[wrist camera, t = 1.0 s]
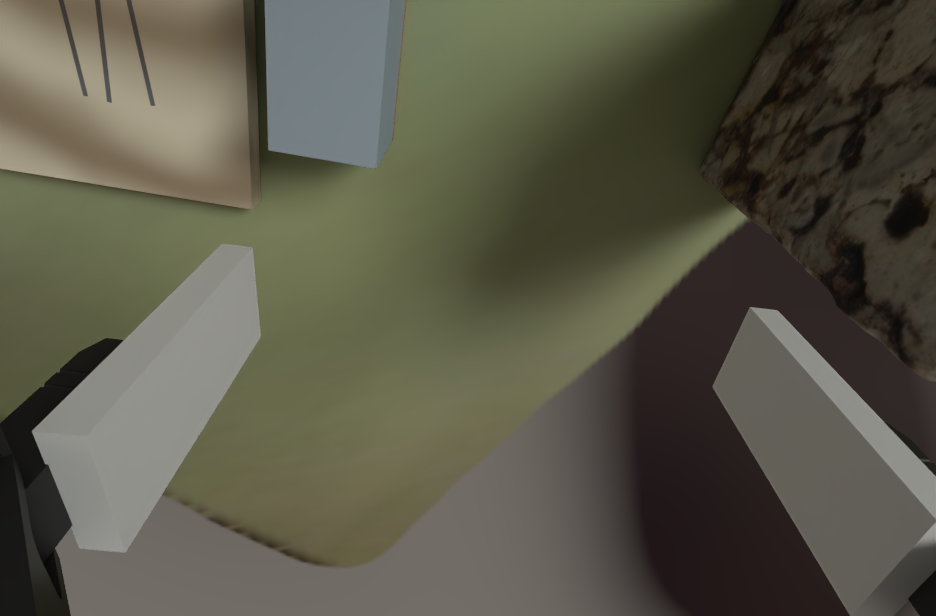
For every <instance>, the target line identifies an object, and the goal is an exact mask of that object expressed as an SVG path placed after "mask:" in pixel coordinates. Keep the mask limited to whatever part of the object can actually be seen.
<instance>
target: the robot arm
mask: <svg viewBox="0 0 936 616" xmlns="http://www.w3.org/2000/svg"><path fill="white" fill-rule="evenodd" d="M260 337H261V334H260V323H259V312H258V301H257V290H256V279H255V268H254V257H253V247H245V246H236V245H228V244H221V245H220V246H219V247H218V248H217V249H216V250H215V251H214V252H213V253H212V254H211V255H210V256H209V257H208V258H207V259H206V260H205V261H204V262H203V263H202V264H201V265H200V266H199V267H198V268H197V269H196V270H195V271H194V272H193V273H192V274H191V275H190V276H189V277H188V278H187V279H186V280H185V281H184V282H183V283H182V284H181V285H180V286H179V287H178V288H177V289H176V290H175V291H174V292H173V293H171V294H170V295H169V296H168V297H167V298H166V299H165V300H164V301H163V302H162V303H161V304H160V305H159V306H158V307H157V308H156V309H155V310H154V311H153V312H152V313H151V314H150V315H149V316H148V317H147V318H146V319H145V320H144V321H143V322H142V323H141V324H140V325H139V326H138V327H137V328H136V329H135V330H134V331H133V332H132V333H131V334H130V335H129V336H128V337H127V338H126V339H125V340H118V339H108V338H106V339H104V340H102V341H100V342H98V343H96V344H94V345H92V346H90V347H88V348H86V349H84V350H82V351H80V352H79V353H78V354H76V355H75V356H74V357H73V358H72V359H71V360H70V361H69V362H68V363H67V364H65V365H64V366H63V367H62V368H61V369H60V373H55V374H54V375H53V376H52V377H51V378H50V379H49V380H48V381H47V382H45V385H44V387H40V388H39V389H38V390H37V391H36V392H34V393H33V394H32V395H31V396H30V397H29V398H28V399H27V400H26V401H24V402H23V403H22V404H21V405H20V406H19V407H18V408H17V409H16V410H15V411H13V412H12V413H11V414H10V415H9V416H8V417H7V418H6V419H5V420H3V421H2V422H1V423H0V616H71V615H70V610H69V604H68V600H67V594H66V590H65V584H64V579H63V574H62V569H61V564H60V559H59V557H58V554H57V552H56V550H55V547H56V546H57V545H58V543H59V542H60V540H61V539H62V538H63V537H64V535H65V534H66V533H67V531H68V530H69V529H70V528H71V529H72V531H73V534H74V536H75V539H76V541H77V544H78V546H79V548H80V549H90V550H101V551H113V552H126V551H127V549H128V548H129V546H130V544H131V543H132V541H133V540H134V538H135V536H136V535H137V533H138V532H139V530H140V528H141V527H142V525H143V524H144V522H145V521H146V519H147V517H148V516H149V514H150V513H151V511H152V509H153V508H154V506H155V505H156V503H157V501H158V500H159V498H160V497H161V495H162V493H163V492H164V490H165V489H166V487H167V485H168V484H169V482H170V481H171V479H172V478H173V476H174V474H175V473H176V471H177V470H178V468H179V466H180V465H181V463H182V462H183V460H184V458H185V457H186V455H187V454H188V452H189V450H190V449H191V447H192V446H193V444H194V442H195V441H196V439H197V438H198V436H199V434H200V433H201V431H202V430H203V428H204V426H205V425H206V423H207V422H208V420H209V418H210V417H211V415H212V414H213V412H214V411H215V409H216V407H217V406H218V404H219V403H220V401H221V399H222V398H223V396H224V395H225V393H226V391H227V390H228V388H229V387H230V385H231V383H232V382H233V380H234V379H235V377H236V375H237V374H238V372H239V371H240V369H241V367H242V366H243V364H244V363H245V361H246V359H247V358H248V356H249V355H250V353H251V351H252V350H253V348H254V347H255V345H256V344H257V342H258V340H259V339H260ZM713 389H714V390H715V392H716V394H717V395H718V397H719V398H720V400H721V402H722V403H723V405H724V407H725V408H726V410H727V412H728V413H729V415H730V417H731V418H732V420H733V422H734V423H735V425H736V427H737V428H738V430H739V432H740V433H741V435H742V437H743V438H744V439H745V442H746V443H747V445H748V447H749V448H750V450H751V451H752V453H753V455H754V457H755V458H756V460H757V461H758V463H759V464H760V466H761V468H762V470H763V471H764V473H765V475H766V476H767V478H768V480H769V482H770V483H771V485H772V487H773V488H774V490H775V492H776V493H777V495H778V496H779V498H780V500H781V501H782V503H783V505H784V506H785V508H786V510H787V511H788V513H789V515H790V516H791V518H792V520H793V521H794V523H795V525H796V526H797V528H798V530H799V531H800V533H801V535H802V536H803V538H804V540H805V541H806V543H807V545H808V546H809V548H810V550H811V551H812V553H813V555H814V556H815V558H816V560H817V561H818V563H819V565H820V566H821V568H822V569H823V571H824V573H825V575H826V576H827V578H828V580H829V581H830V583H831V585H832V586H833V588H834V589H835V591H836V593H837V594H838V596H839V598H840V599H841V601H842V603H843V604H844V606H845V608H846V609H847V611H848V613H849V614H850V616H894V615H895V614H896V612H898V611H899V609H900V608H901V607H902V606H903V605H904V604H905V603H906V602H907V601H908V600H909V601H910V602H911V603H912V605H913V607H914V608H915V609H916V611H917V612H918V614H919V615H920V616H936V465H935V464H934V463H930V462H929V458H928V457H927V456H926V455H925V454H924V453H923V452H922V451H921V450H920V449H919V448H918V447H917V446H916V445H915V444H914V443H913V442H912V441H911V440H910V439H909V438H908V437H906V436H905V435H903V434H902V433H900V432H899V431H897V430H896V429H895V428H893V427H892V426H891V425H889V424H888V423H886V422H883V421H882V420H881V419H880V417H879V416H877V414H876V413H875V412H874V411H873V410H872V409H871V408H870V407H869V406H868V405H867V404H866V403H865V402H864V401H863V400H862V399H861V398H860V396H859V395H858V394H857V393H856V392H855V391H854V390H853V389H852V388H851V387H850V386H849V385H848V384H847V383H846V382H845V381H844V380H843V379H842V378H841V377H840V376H839V374H838V373H837V372H836V371H835V370H834V369H833V368H832V367H831V366H830V365H829V364H828V363H827V362H826V361H825V360H824V359H823V358H822V357H821V356H820V354H819V353H818V352H817V351H816V350H815V349H814V348H813V347H812V346H811V345H810V344H809V343H808V342H807V341H806V340H805V339H804V338H803V337H802V336H801V335H800V333H798V332H797V330H796V329H795V328H794V327H793V326H792V325H791V324H790V323H789V322H788V321H787V320H786V319H785V318H784V317H783V316H782V315H781V314H780V313H779V311H777V310H769V309H761V308H753V307H750V308H749V311H748V313H747V315H746V317H745V319H744V321H743V323H742V325H741V328H740V330H739V332H738V334H737V336H736V338H735V340H734V342H733V344H732V347H731V349H730V351H729V353H728V355H727V357H726V359H725V362H724V363H723V366H722V368H721V370H720V372H719V374H718V376H717V378H716V380H715V383H714V385H713Z"/></svg>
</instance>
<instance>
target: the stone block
mask: <svg viewBox="0 0 936 616" xmlns="http://www.w3.org/2000/svg"><path fill="white" fill-rule="evenodd" d="M699 171H700V173H701V174H702V176H703V178H704V179H705V180H706V181H707V182H709V183H710V184H711V185H712V186H714V187H715V188H716V189H718V190H719V191H720V192H721V194H723V195H724V197H725V198H726V199H727V200H728V201H729V202H730V203H731V204H733V205H734V206H735V207H736V208H738V209H739V210H740V211H741V212H742V213H743V214H744V215H746V216H747V217H748V218H749V219H750V220H752V221H753V222H754V223H756V224H757V225H759V226H760V227H762V228H763V229H764V230H765V231H766V232H768V233H770V234H771V235H772V236H773V237H774V239H775V240H776V241H777V242H778V243H780V244H781V245H782V246H784V247H785V248H786V250H787V251H788V252H789V253H790V254H791V255H792V256H793V258H795V259H796V260H797V261H799V262H800V263H801V264H802V265H803V267H804V268H805V270H806V271H807V272H808V273H810V274H811V275H812V276H814V277H815V278H816V279H818V280H819V281H820V282H821V283H823V284H824V285H825V286H826V287H827V289H828V290H829V291H830V293H831V294H832V296H833V298H834V300H835V302H836V305H837V306H838V307H839V308H840V309H841V310H842V311H843V312H844V313H845V314H846V315H847V316H848V317H849V318H850V319H852V320H853V321H854V322H856V323H857V324H858V325H859V326H860V327H861V328H862V329H863V330H864V331H866V332H867V333H869V334H871V335H872V336H874V337H875V338H877V339H878V340H880V341H881V342H882V343H883V344H884V345H885V346H886V347H887V348H888V349H889V350H890V351H891V352H892V353H893V354H894V355H895V356H896V357H897V358H898V359H899V360H900V361H901V362H902V363H904V364H905V365H906V366H907V367H909V368H910V369H911V370H912V371H914V372H915V373H917V374H918V375H920V376H921V377H923V378H924V379H927V380H930V381H932V382H936V0H784V2H783V5H782V7H781V9H780V11H779V14H778V16H777V18H776V20H775V22H774V24H773V26H772V27H771V29H770V31H769V33H768V35H767V37H766V39H765V41H764V43H763V44H762V46H761V48H760V50H759V52H758V54H757V56H756V58H755V60H754V62H753V64H752V65H751V67H750V69H749V71H748V73H747V75H746V77H745V79H744V81H743V83H742V85H741V87H740V89H739V91H738V93H737V96H736V98H735V100H734V102H733V103H732V105H731V106H730V108H729V109H728V111H727V113H726V115H725V117H724V120H723V122H722V124H721V127H720V129H719V132H718V134H717V137H716V139H715V141H714V144H713V146H712V147H711V149H710V151H709V152H708V154H707V156H706V157H705V160H704V162H703V164H702V166H701V168H700V170H699Z"/></svg>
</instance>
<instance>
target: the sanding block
mask: <svg viewBox="0 0 936 616" xmlns="http://www.w3.org/2000/svg"><path fill="white" fill-rule="evenodd" d="M405 9H406V0H265V37H266V78H267V119H268V150H270V151H275V152H281V153H287V154H293V155H299V156H305V157H310V158H316V159H322V160H328V161H334V162H339V163H345V164H351V165H357V166H363V167H368V168H374V169H376V168H377V166H378V165H379V163H380V161H381V159H382V158H383V156H384V154H385V152H386V151H387V149H388V147H389V145H390V143H391V142H392V140H393V134H394V124H395V113H396V103H397V93H398V82H399V72H400V61H401V51H402V41H403V30H404V20H405Z"/></svg>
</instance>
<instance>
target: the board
mask: <svg viewBox="0 0 936 616" xmlns="http://www.w3.org/2000/svg"><path fill="white" fill-rule="evenodd" d="M0 169H6V170H12V171H18V172H24V173H30V174H36V175H42V176H49V177H55V178H61V179H67V180H73V181H79V182H85V183H92V184H98V185H104V186H110V187H116V188H122V189H128V190H134V191H141V192H147V193H153V194H159V195H165V196H171V197H177V198H184V199H190V200H196V201H202V202H208V203H214V204H220V205H226V206H233V207H239V208H245V209H251V210H252V209H253V208H254V207H255V206H256V205H257V204H258V203H259V202H260V201H261V186H260V155H259V124H258V93H257V62H256V31H255V0H0Z"/></svg>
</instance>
